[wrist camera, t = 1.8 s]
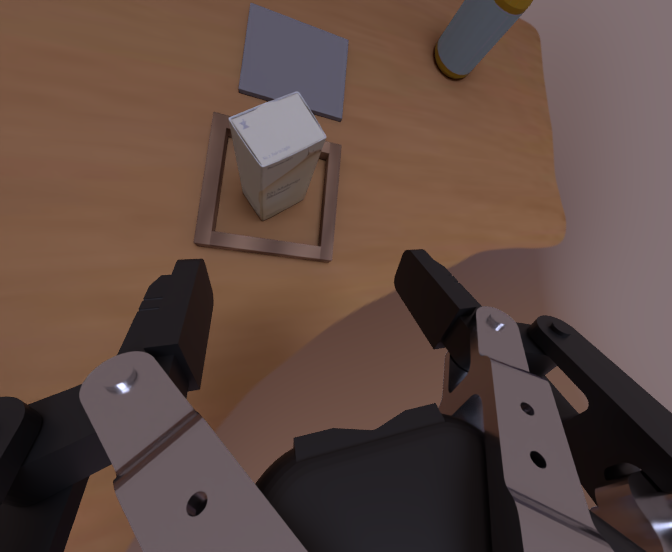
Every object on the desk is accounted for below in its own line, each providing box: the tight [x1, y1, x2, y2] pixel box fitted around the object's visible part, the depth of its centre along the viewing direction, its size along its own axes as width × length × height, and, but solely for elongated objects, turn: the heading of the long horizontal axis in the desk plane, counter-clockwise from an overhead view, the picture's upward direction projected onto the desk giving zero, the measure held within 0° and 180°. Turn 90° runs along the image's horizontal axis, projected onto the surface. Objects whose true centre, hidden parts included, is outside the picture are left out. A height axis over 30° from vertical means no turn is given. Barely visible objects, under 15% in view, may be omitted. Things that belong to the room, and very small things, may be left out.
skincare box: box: [228, 91, 326, 221], centre depth 24 cm, size 6×4×12 cm
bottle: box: [435, 0, 533, 79], centre depth 33 cm, size 7×7×15 cm
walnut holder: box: [194, 112, 341, 262], centre depth 29 cm, size 15×15×2 cm
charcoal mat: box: [239, 3, 348, 122], centre depth 32 cm, size 13×12×1 cm
